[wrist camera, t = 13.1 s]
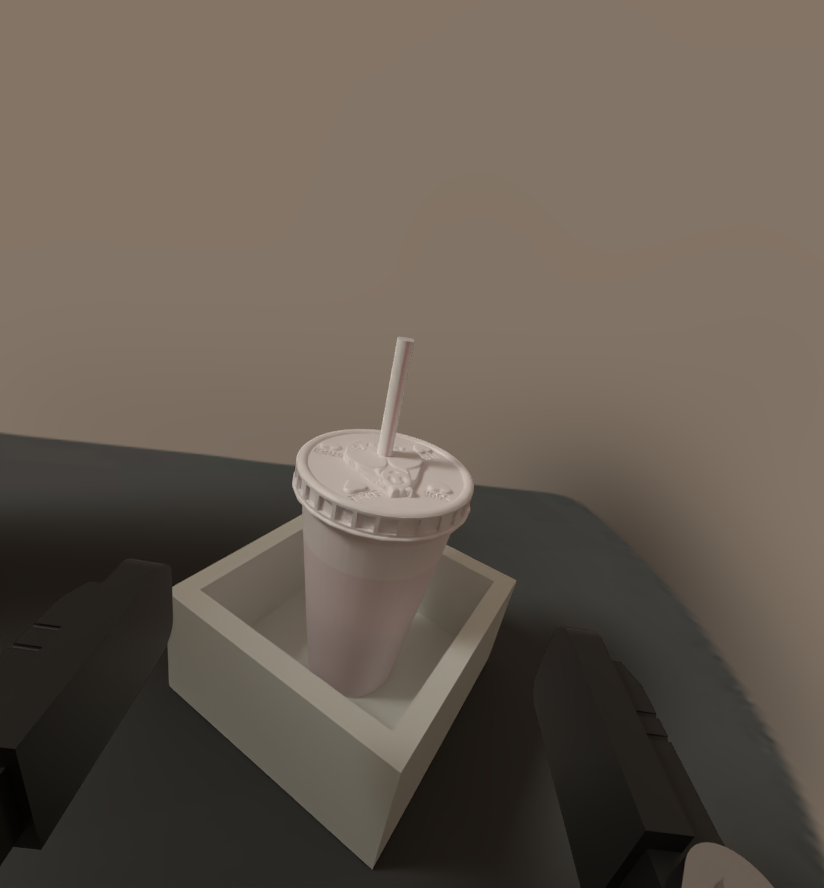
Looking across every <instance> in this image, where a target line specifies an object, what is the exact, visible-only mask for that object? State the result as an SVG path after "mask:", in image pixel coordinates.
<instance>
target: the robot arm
mask: <svg viewBox="0 0 824 888" xmlns="http://www.w3.org/2000/svg"><path fill="white" fill-rule="evenodd" d="M172 626H173V599H172V571H171V567H170V565H168V564H164V563H157V562H151V561H144V560H138V559H131V558H128V559H126V560H124V561H123V562H121V563H120V564H119V565H118V566H117V568H116V569H115V570H114V571H113V572H112V573H111V574H110V575H109V576H108V577H107V578H106V579H105V580H104V582H103V583H100V582H93V581H89V582H87V583H85V584H83V585H82V586H80V587H78V588H76V589H75V590H73V591H71V592H70V593H68V594H66V595H64V596H63V597H61V598H59V599H58V600H57V601H56V602H55V603H54V604H53V605H52V606H51V607H50V608H49V609H48V610H47V611H46V612H45V613H44V614H43V615H42V616H41V617H40V618H39V619H38V620H37V621H35V622H34V626H33V627H32V628H30V627H29V628H28V629H27V630H26V631H25V632H24V633H23V634H22V635H21V636H20V637H19V638H18V639H17V640H16V641H15V642H14V645H13V647H12V648H11V649H10V648H8V649H7V650H6V651H5V652H4V653H3V654H2V655H1V656H0V865H1V864H2V862H3V861H4V859H5V858H6V856H7V855H8V853H9V852H10V850H11V849H12V847H21V848H30V849H39V850H41V849H42V847H43V846H44V844H45V842H46V841H47V839H48V838H49V836H50V834H51V833H52V831H53V830H54V828H55V826H56V825H57V823H58V822H59V820H60V818H61V817H62V815H63V813H64V812H65V810H66V809H67V807H68V805H69V804H70V802H71V801H72V799H73V797H74V796H75V794H76V793H77V791H78V789H79V788H80V786H81V784H82V783H83V781H84V780H85V778H86V776H87V775H88V773H89V772H90V770H91V768H92V767H93V765H94V764H95V762H96V760H97V759H98V757H99V755H100V754H101V752H102V751H103V749H104V747H105V746H106V744H107V743H108V741H109V739H110V738H111V736H112V735H113V733H114V731H115V730H116V728H117V726H118V725H119V723H120V722H121V720H122V718H123V717H124V715H125V714H126V712H127V710H128V709H129V707H130V706H131V704H132V702H133V701H134V699H135V697H136V696H137V694H138V693H139V691H140V689H141V688H142V686H143V685H144V683H145V681H146V680H147V678H148V677H149V675H150V673H151V672H152V670H153V669H154V667H155V665H156V664H157V662H158V660H159V659H160V657H161V656H162V654H163V652H164V650H165V648H166V646H167V644H168V641H169V638H170V635H171V631H172ZM533 699H534V707H535V711H536V715H537V719H538V723H539V727H540V731H541V734H542V738H543V742H544V746H545V750H546V754H547V758H548V762H549V766H550V769H551V773H552V777H553V781H554V785H555V789H556V793H557V797H558V801H559V804H560V808H561V812H562V816H563V820H564V824H565V828H566V832H567V836H568V840H569V843H570V847H571V851H572V855H573V859H574V863H575V867H576V871H577V875H578V878H579V882H580V886H581V888H774V887H773V886H772V885H771V884H770V883H769V881H768V880H767V879H766V878H765V877H764V876H763V875H762V874H761V873H760V872H759V871H758V870H757V869H756V868H755V867H754V866H753V865H752V864H751V863H749V862H748V861H747V860H746V859H744V858H743V857H742V856H740V855H739V854H737V853H736V852H734V851H732V850H730V849H728V848H726V847H725V845H724V844H723V842H722V840H721V838H720V837H719V835H718V833H717V831H716V829H715V827H714V825H713V823H712V821H711V819H710V817H709V815H708V813H707V812H706V810H705V808H704V806H703V804H702V802H701V800H700V798H699V796H698V794H697V792H696V790H695V788H694V786H693V784H692V782H691V780H690V778H689V776H688V775H687V773H686V771H685V769H684V767H683V765H682V763H681V761H680V759H679V757H678V755H677V753H676V751H675V749H674V747H673V745H672V743H671V742H668V739H667V737H668V736H667V734H666V732H665V730H664V728H663V726H662V724H661V722H660V720H659V719H657V718H656V712H655V710H654V708H653V706H652V704H651V702H650V701H649V699H648V697H647V695H646V693H645V691H644V689H643V687H642V686H641V684H640V683H639V682H638V681H637V680H636V679H635V678H634V676H633V675H632V674H631V673H630V672H629V671H628V670H627V669H626V667H625V666H624V665H623V664H622V663H621V662H616V661H612V660H611V657H610V655H609V653H608V651H607V649H606V647H605V645H604V643H603V640H602V639H601V637H600V635H599V634H598V633H597V632H595V631H589V630H582V629H576V628H569V627H563V626H560V627H558V628H557V629H556V630H555V632H554V634H553V636H552V638H551V641H550V643H549V645H548V648H547V650H546V652H545V654H544V657H543V659H542V661H541V664H540V666H539V668H538V671H537V673H536V676H535V680H534V687H533Z"/></svg>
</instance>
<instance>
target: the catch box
mask: <svg viewBox="0 0 824 888" xmlns="http://www.w3.org/2000/svg"><path fill="white" fill-rule="evenodd" d="M515 584H516V580H514V579H512V578H510V577H508V576H507V575H505V574H503V573H501V572H499V571H497V570H495V569H493V568H491V567H489V566H487V565H485V564H483V563H481V562H479V561H477V560H475V559H473V558H471V557H469V556H467V555H465V554H463V553H461V552H459V551H457V550H455V549H453V548H451V547H449V546H448V545H446V546H445V549H444V551H443V554H442V556H441V558H440V560H439V562H438V564H437V567H436V569H435V571H434V574H433V576H432V578H431V580H430V583H429V585H428V587H427V590H426V592H425V594H424V597H423V599H422V601H421V603H420V606H419V608H418V610H417V613H416V615H415V617H414V620H413V622H412V624H411V626H410V629H409V631H408V633H407V636H406V638H405V640H404V643H403V645H402V647H401V649H400V652H399V654H398V656H397V659H396V661H395V663H394V666H393V668H392V670H391V672H390V675H389V677H388V679H387V680H386V681H385V683H384V684H383V685H382V686H381V687H380V688H378V689H377V690H376V691H374V692H372V693H370V694H367V695H364V696H359V697H345V696H343V695H342V694H341V693H339V692H338V691H337V690H335V689H334V688H333V687H331V686H330V685H328V684H327V683H326V682H324V681H323V680H322V679H320V678H319V677H318V676H316V675H315V674H314V673H312V672H311V671H310V670H309V666H308V652H307V624H306V597H305V569H304V542H303V520H302V515H300V516H298V517H297V518H295V519H293V520H291V521H289V522H288V523H286V524H284V525H282V526H280V527H279V528H277V529H275V530H273V531H272V532H270V533H268V534H266V535H264V536H263V537H261V538H259V539H257V540H255V541H254V542H252V543H250V544H248V545H246V546H245V547H243V548H241V549H239V550H237V551H236V552H234V553H232V554H230V555H228V556H227V557H225V558H223V559H221V560H220V561H218V562H216V563H214V564H212V565H211V566H209V567H207V568H205V569H203V570H202V571H200V572H198V573H196V574H194V575H193V576H191V577H189V578H187V579H185V580H184V581H182V582H180V583H178V584H177V585H175V586H173V587H172V599H173V626H172V631H171V635H170V638H169V641H168V670H169V686H170V687H171V688H172V689H173V690H174V691H175V692H176V693H178V694H179V695H180V696H181V697H182V698H183V699H184V700H185V701H186V702H187V703H189V704H190V705H191V706H192V707H193V708H194V709H195V710H196V711H197V712H199V713H200V714H201V715H202V716H203V717H204V718H205V719H206V720H207V721H208V722H210V723H211V724H212V725H213V726H214V727H215V728H216V729H217V730H218V731H220V732H221V733H222V734H223V735H224V736H225V737H226V738H227V739H228V740H229V741H231V742H232V743H233V744H234V745H235V746H236V747H237V748H238V749H239V750H241V751H242V752H243V753H244V754H245V755H246V756H247V757H248V758H249V759H250V760H252V761H253V762H254V763H255V764H256V765H257V766H258V767H259V768H260V769H262V770H263V771H264V772H265V773H266V774H267V775H268V776H269V777H270V778H271V779H273V780H274V781H275V782H276V783H277V784H278V785H279V786H280V787H281V788H283V789H284V790H285V791H286V792H287V793H288V794H289V795H290V796H291V797H292V798H294V799H295V800H296V801H297V802H298V803H299V804H300V805H301V806H302V807H304V808H305V809H306V810H307V811H308V812H309V813H310V814H311V815H312V816H313V817H315V818H316V819H317V820H318V821H319V822H320V823H321V824H322V825H323V826H325V827H326V828H327V829H328V830H329V831H330V832H331V833H332V834H333V835H334V836H336V837H337V838H338V839H339V840H340V841H341V842H342V843H343V844H344V845H345V846H347V847H348V848H349V849H350V850H351V851H352V852H353V853H354V854H355V855H357V856H358V857H359V858H360V859H361V860H362V861H363V862H364V863H365V864H366V865H368V866H369V867H370V868H371V869H373V867H374V866H375V864H376V862H377V860H378V858H379V856H380V855H381V853H382V851H383V849H384V847H385V845H386V844H387V842H388V840H389V838H390V836H391V835H392V833H393V831H394V829H395V827H396V825H397V824H398V822H399V820H400V818H401V816H402V815H403V813H404V811H405V809H406V807H407V805H408V804H409V802H410V800H411V798H412V796H413V795H414V793H415V791H416V789H417V787H418V785H419V784H420V782H421V780H422V778H423V776H424V775H425V773H426V771H427V769H428V767H429V765H430V764H431V762H432V760H433V758H434V756H435V754H436V753H437V751H438V749H439V747H440V745H441V744H442V742H443V740H444V738H445V736H446V734H447V733H448V731H449V729H450V727H451V725H452V724H453V722H454V720H455V718H456V716H457V714H458V713H459V711H460V709H461V707H462V705H463V704H464V702H465V700H466V698H467V696H468V694H469V693H470V691H471V689H472V687H473V685H474V684H475V682H476V680H477V678H478V676H479V674H480V673H481V671H482V669H483V667H484V665H485V663H486V662H487V660H488V658H489V655H490V652H491V650H492V647H493V644H494V641H495V639H496V636H497V633H498V630H499V628H500V625H501V622H502V619H503V617H504V614H505V611H506V608H507V606H508V603H509V600H510V597H511V595H512V592H513V589H514V586H515Z"/></svg>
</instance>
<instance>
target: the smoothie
mask: <svg viewBox="0 0 824 888" xmlns="http://www.w3.org/2000/svg"><path fill="white" fill-rule="evenodd" d="M413 345H414V340H412V339H409V338H405V337H398V338H397V344H396V349H395V355H394V360H393V366H392V371H391V377H390V383H389V388H388V394H387V400H386V405H385V411H384V416H383V422H382V428H381V430H372V429H349V430H340V431H334V432H329V433H326V434H323V435H320V436H317V437H315V438H314V439H312V440H310V441H308V442H307V443H306V444H304V445H303V446H302V448H301V449H300V450H299V452H298V454H297V458H296V467H295V472H294V475H293V483H292V487H293V489H294V492H295V494H296V497H297V500H298V501H299V502H300V503H301V504H302V520H303V542H304V569H305V597H306V624H307V652H308V666H309V670H310V671H311V672H312V673H314V674H315V675H316V676H318V677H319V678H320V679H322V680H323V681H324V682H326V683H327V684H328V685H330V686H331V687H333V688H334V689H335V690H337V691H338V692H339V693H341V694H342V695H343V696H345V697H359V696H364V695H367V694H370V693H372V692H374V691H376V690H377V689H378V688H380V687H381V686H382V685H383V684H384V683H385V681H386V680H387V679H388V677H389V675H390V672H391V670H392V668H393V666H394V663H395V661H396V659H397V656H398V654H399V652H400V649H401V647H402V645H403V643H404V640H405V638H406V636H407V633H408V631H409V629H410V626H411V624H412V622H413V620H414V617H415V615H416V613H417V610H418V608H419V606H420V603H421V601H422V599H423V597H424V594H425V592H426V590H427V587H428V585H429V583H430V580H431V578H432V576H433V574H434V571H435V569H436V567H437V564H438V562H439V560H440V558H441V556H442V554H443V551H444V549H445V546H446V544H447V542H448V539H449V537H450V534H451V533H452V532H453V531H455V530H456V529H457V528H459V527H460V526H461V525H462V524H464V523H465V520H466V518H467V516H468V514H469V512H470V501H471V498H472V495H473V491H474V483H473V480H472V477H471V475H470V473H469V472H468V470H467V469H466V467H465V466H464V465H463V464H461V462H460V461H459V460H458V459H456V458H455V457H453V456H452V455H451V454H449V453H448V452H446V451H444V450H443V449H440V448H439V447H437V446H435V445H433V444H430V443H428V442H426V441H423V440H420V439H417V438H414V437H411V436H407V435H403V434H399V433H396V432H397V427H398V422H399V417H400V412H401V407H402V401H403V396H404V391H405V385H406V380H407V375H408V370H409V365H410V360H411V354H412V350H413Z"/></svg>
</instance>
